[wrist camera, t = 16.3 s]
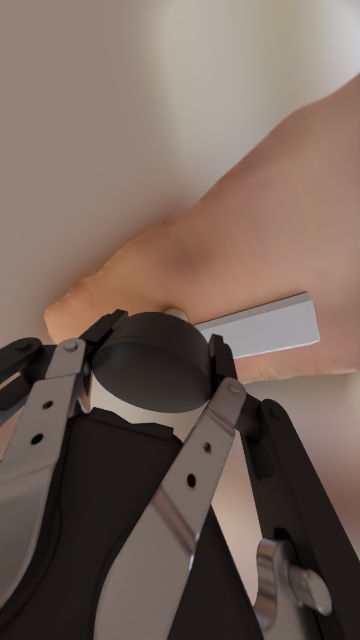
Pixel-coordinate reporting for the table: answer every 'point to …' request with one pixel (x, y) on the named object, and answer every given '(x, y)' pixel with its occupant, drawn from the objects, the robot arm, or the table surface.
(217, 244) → the table surface
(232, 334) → the crown molding
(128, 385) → the jar lid
